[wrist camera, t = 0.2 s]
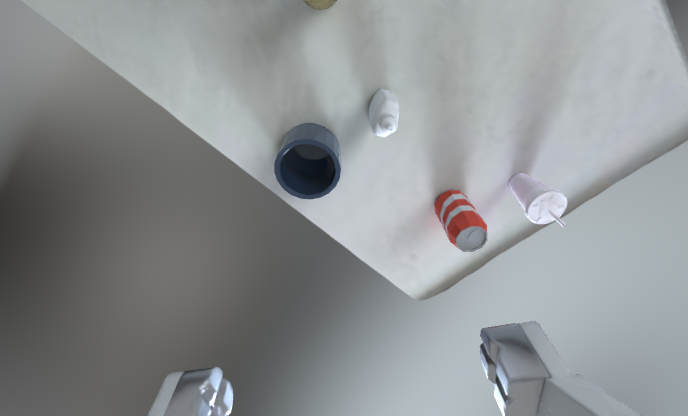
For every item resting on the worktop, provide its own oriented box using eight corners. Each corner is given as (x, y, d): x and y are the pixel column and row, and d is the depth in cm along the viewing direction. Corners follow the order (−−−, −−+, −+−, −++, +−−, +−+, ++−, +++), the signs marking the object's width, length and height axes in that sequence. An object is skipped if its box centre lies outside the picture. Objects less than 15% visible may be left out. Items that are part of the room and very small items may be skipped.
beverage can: (471, 194, 62) (498, 230, 52) (454, 220, 65) (476, 258, 55) (444, 184, 61) (466, 218, 51) (428, 211, 64) (445, 249, 54)
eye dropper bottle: (358, 108, 53) (363, 131, 43) (384, 83, 51) (396, 101, 41) (375, 127, 55) (385, 153, 45) (401, 103, 53) (417, 125, 43)
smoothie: (509, 202, 63) (550, 246, 51) (495, 179, 61) (535, 220, 49) (541, 184, 61) (591, 225, 49) (528, 159, 59) (578, 197, 47)
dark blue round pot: (274, 129, 55) (265, 145, 48) (333, 117, 54) (333, 133, 47) (290, 182, 60) (285, 204, 53) (344, 172, 59) (345, 193, 52)
